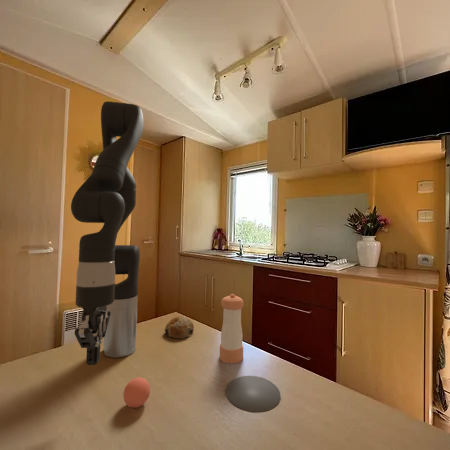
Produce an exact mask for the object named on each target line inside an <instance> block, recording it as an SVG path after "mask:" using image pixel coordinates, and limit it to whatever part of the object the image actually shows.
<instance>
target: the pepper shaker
mask: <svg viewBox="0 0 450 450" xmlns="http://www.w3.org/2000/svg"><path fill="white" fill-rule="evenodd" d="M220 304H221V305H220V306H221V307H222V308H223V315H222V316H223V317H222V321H223V322H222V327H221V332H220V344H219V359H220V361H221V362H224V363H227V364H238V363H240V362H242V361H243V360H244V344H243V328H242V309H243V307H244V305H245V302H244V300H243V299H242V298H241V297H240V296H237V295H236V294H234V293H231V294H229V295H227V296H225V297H223V298H222V299H221V302H220Z"/></svg>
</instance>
